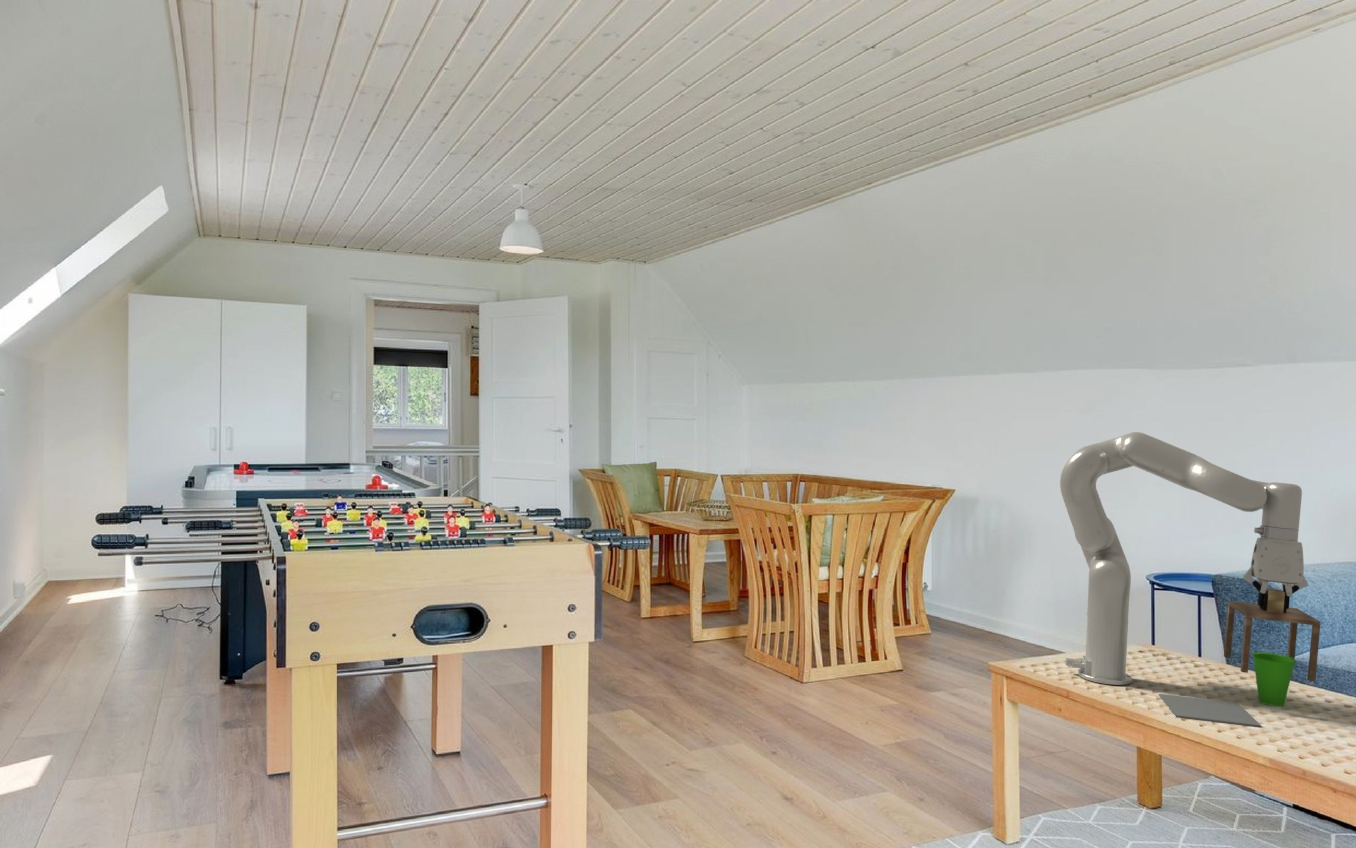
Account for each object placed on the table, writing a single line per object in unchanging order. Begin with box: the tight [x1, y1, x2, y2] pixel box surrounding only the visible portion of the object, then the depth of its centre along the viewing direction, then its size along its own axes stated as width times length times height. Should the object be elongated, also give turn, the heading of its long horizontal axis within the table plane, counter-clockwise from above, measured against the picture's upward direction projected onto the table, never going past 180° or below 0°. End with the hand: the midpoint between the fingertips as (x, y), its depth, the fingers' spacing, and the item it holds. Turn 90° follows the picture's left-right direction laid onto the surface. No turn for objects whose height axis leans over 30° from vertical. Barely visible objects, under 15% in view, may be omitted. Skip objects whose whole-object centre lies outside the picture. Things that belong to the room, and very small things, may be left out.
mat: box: [1158, 693, 1262, 728], centre depth 214 cm, size 17×17×1 cm
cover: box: [1223, 587, 1321, 682], centre depth 222 cm, size 15×15×19 cm
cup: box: [1251, 651, 1297, 707], centre depth 222 cm, size 9×9×11 cm
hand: (1272, 609), depth 222 cm, fingers closed on cover, 3 cm apart
